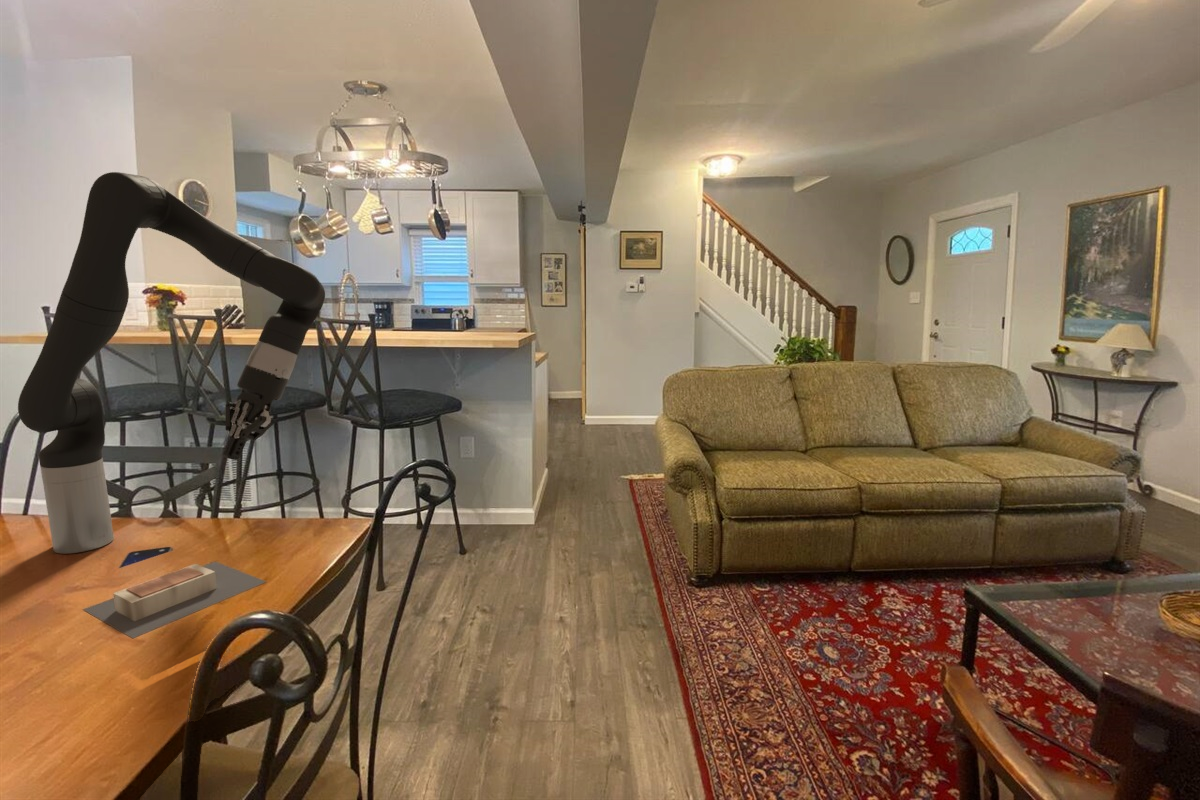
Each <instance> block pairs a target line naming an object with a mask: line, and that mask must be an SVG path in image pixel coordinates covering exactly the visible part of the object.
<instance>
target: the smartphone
mask: <svg viewBox="0 0 1200 800" xmlns="http://www.w3.org/2000/svg"><path fill="white" fill-rule="evenodd" d="M173 551H174V548H173V546H172V547H171V546H165V547H157V548H155V547H154V548H149V549H142V550H135V551H131V552H129V553H127V555H126V556H125V558H124V559H123V561H121V564H120V566H119V567H118V569H121V568H124V567H127V566H130V565H133V564H135V563H138V562H142V561H145V560H148V559H151V558H154V557H157V556H160V555H164V554H167V553H170V552H173Z"/></svg>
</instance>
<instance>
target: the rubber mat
mask: <svg viewBox="0 0 1200 800" xmlns="http://www.w3.org/2000/svg"><path fill="white" fill-rule="evenodd" d="M202 566H203V567H205V568H207V569H210V570H212V571H215V575H216V584H217V588H216V589H214V590H211V591H209V592H206V593H204V594H201V595H199V596H196V597H194V598H191V599H189V600H186V601H184V602H181V603H179V604H176V605H174V606H171V607H169V608H166V609H164V610H161V611H159V612H156V613H154V614H152V615H149V616H147V617H144V618H142V619H139V620H137V621H133V620H131V619H130V618H128V617H126V616H124V615H122V614H120V613H119V612H117V611H116V610H115V603H114V597H112V598H111V599H108V600H105V601H102V602H99V603H97V604H93V605H90V606H88V607H86V608H83V609H82V611H84V612H85V613H87V614H90V615H91V616H93V617H94V618H96V619H98V620H100V621H101V622H103V623H105V624H107V625H108V626H110V627H111V628H112V629H115V630H117V631H119V632H121V633H123V634H124V635H126V636H128V637H129V638H131V639H135V638H137V637H140V636H142V635H145V634H147V633H150V632H152V631H154V630H157V629H158V628H162V627H164V626H166V625H168V624H171V623H173V622H175V621H178V620H180V619H182V618H185V617H188V616H190V615H192V614H195V613H197V612H199V611H201V610H204V609H206V608H208V607H211V606H213V605H216V604H218V603H220V602H222V601H226V600H228V599H231V598H232V597H235V596H237V595H239V594H242V593H244V592H247V591H249V590H251V589H254V588H256V587H258V586H261V585H264V584H266V583H267V581H266V580H264V579H261V578H258V577H256V576H253V575H251V574H248V573H246V572H244V571H241V570H238V569H236V568H233V567H231V566H228V565H225V564H223V563H221V562H219V561H212V562H210V563H207V564H204V565H202Z"/></svg>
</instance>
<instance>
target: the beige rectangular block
mask: <svg viewBox="0 0 1200 800" xmlns="http://www.w3.org/2000/svg"><path fill="white" fill-rule="evenodd" d="M203 566H204V565H200V564H197V563H194V564H190V565H187V566H185V567H183V568H180V569H177V570H175V571H171V572H169V573H165V574H163V575H160V576H157V577H154V578H151V579H149V580H146V581H143V582H141V583H137V584H134V585H132V586H129V587H127V588H124V589H120V590H118V591H116V592H113V593H112V595H113V598H114V603H115V610H116V611H117V612H119V613H120V614H122V615H124V616H126V617H128V618H130V619H131V620H133V621H137V620H139V619H142V618H144V617H147V616H149V615H152V614H154V613H156V612H159V611H161V610H164V609H166V608H169V607H171V606H174V605H176V604H179V603H181V602H184V601H186V600H189V599H191V598H194V597H196V596H199V595H201V594H204V593H206V592H209V591H211V590H214V589H216V588H217V584H216V575H215V571H212V570H210V569H207V568H205V567H203Z"/></svg>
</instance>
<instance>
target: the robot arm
mask: <svg viewBox="0 0 1200 800" xmlns="http://www.w3.org/2000/svg"><path fill="white" fill-rule="evenodd" d="M138 229H152V230H155V231H159V232H161V233H163V234H166V235H168V236H171V237H174V238H176V239H177V240H180V241H182V242H183V243H186V244H187V245H189V246H190V247H192V248H193V249H195V250H196V251H198V253H200V255H202V256H203V257H205V258H206V259H207V260H208V261H209V262H211V263H212V264H214V266H217V268H220V269H222V270H223V271H224V272H227V273H228V274H230V275H232V276H234V277H236V278H238V279H240V280H242V281H244V282H245V283H247V284H250V285H252V286H254V287H257V288H262V289H264V290H266V291H267V292H269V293H271V294H273V295H275V296H277V297H278V298H280V299H281V300H282V301H281V303H280V306H279V307H278V309H277V311H276V313H275V314H273V315H271V316H270V317H269V318H268V320H267V321H266V322H265V324H264V326H263V329H262V331H261V333H260V335H259V338H258V341H257V342H256V344H255V345H254V346H253V347H254V348H252V350H251V352H250V355H249V356H248V359H247V361H246V364H245V365H244V368H243V370H242V373H241V375H240V377H239V379H238V381H237V385H236V386H237V387H238V388H239V389H240V390H241V392H240V394H239V395H238V396H237V398H236V401H234V402H230V401H228V402H226V403H225V431H227V432H229V434H228V436H229V440H228V442H227V444H226V446H225V449H224V451H223V453H222V455H223V457H225V458H227V459H229V460H233V461H234V460H235V461H237V460H239V459H240V457H241V455H242V453H243V450H244V449H245V446H246V443H247V442H250V441H254V442H255V441H257V440H258V439H259V438H260V437H261V436H262V435H263V434H264V433H266V432H267V430H269V429H270V428H271V427H272V426H274V424H275V423H276V422H275V418H271V417H270V412H271V410H272V405H273V403H274V401H279V400H282V399H281V398H282V396H283V394H284V392H285V389H286V386H287V385H288V382H289V380H290V377H291V375H292V374H293V370H294V368H295V365H296V361H297V358H298V355H299V353H300V351H301V348H302V346H303V344H304V342H305V341H304V340H306V339H305V338H306V336H307V333H308V332H309V330H310V328H311V327H312V326H313V323H314V322H315V320H316V319H317V317H318V316H319V314H320V312H321V311H322V308H323V305H324V302H325V299H326V290H325V287H324V286H323V284H322V283H321V282H320V280H319V279H318V278H317V276H316V275H315V274H313V273H312V272H311V271H309V270H307V269H305V268H304V267H302V266H300V265H298V264H295V263H294V262H291V261H289V260H286V259H283V258H281V257H279V256H276V255H274V254H273V253H272V252H269V250H266V248H265V249H264V248H262V247H260V246H259V245H257V244H255V243H253V242H252V241H250V240H248V239H246V238H244V237H242V236H240V235H238V234H236V232H233V231H231V230H230V229H227V228H225V227H223V226H222V225H220V224H218V223H216V222H214V221H213V220H211V219H209V218H208V217H206V216H204V215H203V214H201V213H200V212H198V211H197V210H195V209H194V208H192V207H191V206H190V205H188V204H187V203H185V202H184V201H182V200H181V199H180V198H179V197H177V196H176V195H175V194H174V193H172V192H170V191H169V190H167V189H166V188H165V187H163V186H162V185H161V184H160V183H158V182H157V181H155V180H153V179H151V178H150V177H146V176H142V175H140V174H139V175H138V174H131V173H125V172H119V171H118V172H117V171H113V172H110V171H109V172H106V173H104V174H102V175H100V176H98V178H96V179H95V180H94V182H93V184H92V185H91V188H90V190H89V194H88V199H87V202H86V208H85V213H84V218H83V223H82V230H81V234H80V238H79V241H78V244H77V247H76V250H75V254H74V257H73V260H72V262H71V266H70V270H69V273H68V276H67V279H66V280H65V283H64V286H63V288H62V291H61V294H60V296H59V300H58V302H57V306H56V309H55V313H54V316H53V319H52V323H51V325H50V328H49V331H48V332H47V336H46V338H45V340H44V343H43V346H42V349H41V351H40V354H39V355H38V358H37V360H36V362H35V364H34V366H33V368H32V370H31V371H30V374H29V375H28V378H27V380H26V381H25V384H24V385H23V388H22V390H21V391H20V394H19V398H18V401H17V403H18V404H17V411H18V415H19V419H20V421H21V423H23V425H24V426H25V427H26V428H28V430H30V431H34V432H39V433H45V432H46V433H48V432H56V431H57V433H56V436H55V437H54V439H53V440H52V441H51V442H50V443H48V445H46V446H44V447H43V448H42V449H41V450H40V451H39V452H38V460H39V461H38V462H39V465H40V466H39V467H40V474H41V479H42V486H43V492H44V498H45V504H46V512H47V516H48V523H49V530H50V536H51V543H52V549H53V552H55V553H56V554H66V555H67V554H76V553H77V554H78V553H82V552H87V551H91V550H97V549H98V548H101V547H104V546H106V545H108V544H110V543H111V542H113V541H114V539H115V537H114V530H113V522H112V515H111V508H110V500H109V494H108V487H107V480H106V473H105V467H104V466H105V465H104V458H103V448H104V445H105V441H106V435H105V433H106V432H105V419H104V418H105V417H104V408H103V401H102V398H101V395H100V393H99V391H98V390H97V388H96V387H95V385H93V384H92V383H91V382H90V381H88V380H85V379H82V378H78V377H79V375H80V373H81V372H82V370H83V369H84V367H85V366H86V364H88V363H89V362H90V360H92V359H93V358H94V357H95V355H97V354H98V353H99V352H100V351H101V350H102V349H103V348H104V347H105V346H107V344H108V343H109V342H110V340H111V339H112V338H113V337H114V336H115V335H116V333H117V331H118V330H119V328H120V325H121V323H122V320H123V318H124V315H125V312H126V309H127V306H128V302H129V298H130V291H129V283H128V277H127V271H126V259H127V255H128V251H129V249H130V246H131V244H132V241H133V238H134V237H135V234H136V232H137V230H138Z"/></svg>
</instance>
